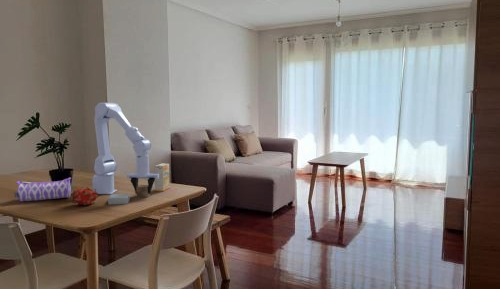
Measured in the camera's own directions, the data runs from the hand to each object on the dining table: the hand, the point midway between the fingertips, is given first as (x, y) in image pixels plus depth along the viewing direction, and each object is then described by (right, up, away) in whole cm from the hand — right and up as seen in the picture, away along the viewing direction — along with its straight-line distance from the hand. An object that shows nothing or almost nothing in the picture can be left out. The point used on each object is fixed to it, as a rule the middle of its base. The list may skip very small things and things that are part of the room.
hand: (143, 193), depth 175 cm
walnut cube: (0, -2, 0) cm, 2 cm away
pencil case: (-43, -2, -7) cm, 43 cm away
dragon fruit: (-21, -3, -15) cm, 26 cm away
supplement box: (+6, 0, +14) cm, 15 cm away
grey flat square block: (-8, -3, -10) cm, 13 cm away
